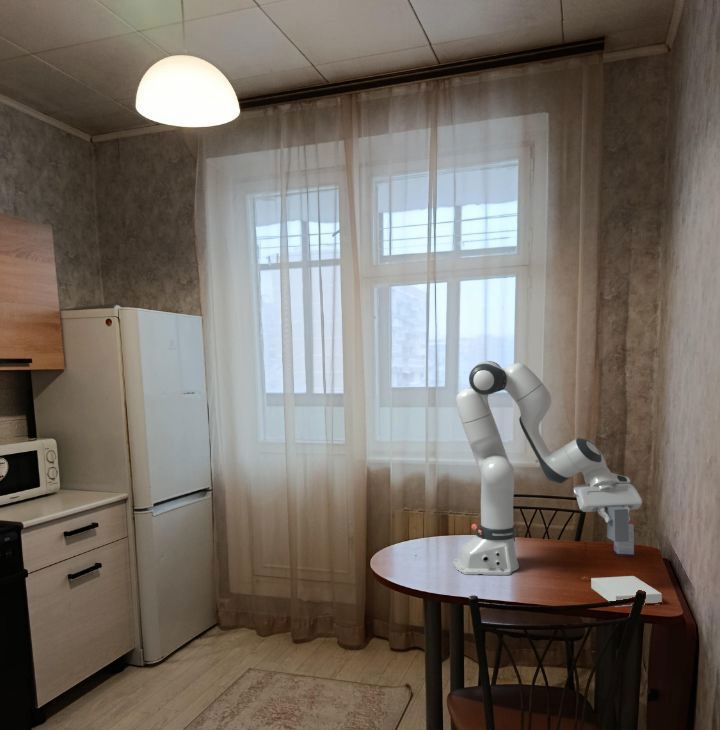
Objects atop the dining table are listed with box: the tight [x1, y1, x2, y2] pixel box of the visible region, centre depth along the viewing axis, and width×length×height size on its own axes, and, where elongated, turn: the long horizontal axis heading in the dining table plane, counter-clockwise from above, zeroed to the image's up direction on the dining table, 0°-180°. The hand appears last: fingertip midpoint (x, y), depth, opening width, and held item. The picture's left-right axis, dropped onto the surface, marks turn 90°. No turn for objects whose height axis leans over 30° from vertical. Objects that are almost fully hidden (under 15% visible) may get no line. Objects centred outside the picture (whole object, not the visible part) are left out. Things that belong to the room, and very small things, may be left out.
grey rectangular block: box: [606, 506, 629, 543], centre depth 175 cm, size 4×4×10 cm
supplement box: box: [613, 521, 635, 557], centre depth 205 cm, size 6×6×12 cm
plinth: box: [590, 575, 663, 608], centre depth 167 cm, size 14×14×3 cm
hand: (618, 521), depth 174 cm, fingers closed on grey rectangular block, 4 cm apart
